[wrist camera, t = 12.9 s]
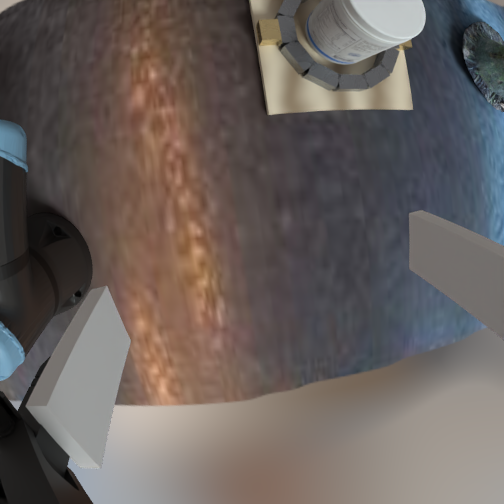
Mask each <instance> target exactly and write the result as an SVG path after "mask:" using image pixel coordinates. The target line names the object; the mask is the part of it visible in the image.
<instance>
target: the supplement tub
mask: <svg viewBox="0 0 504 504" xmlns="http://www.w3.org/2000/svg"><path fill="white" fill-rule="evenodd" d="M425 18H426V15H425V9H424V5H423V3H422V0H322V1H321V2H320V3H319V4H318V5H317V6H316V7H315V9H314V10H313V11H312V12H311V13H310V15H309V16H308V18H307V20H306V25H305V32H306V36H307V39H308V41H309V43H310V45H311V46H312V48H313V49H314V50H315V51H316V52H317V53H318V54H319V55H320V56H321V57H323V58H325V59H326V60H328V61H330V62H333V63H337V64H343V65H347V64H354V63H357V62H359V61H361V60H363V59H366V58H368V57H370V56H372V55H375V54H377V53H379V52H382V51H384V50H387V49H389V48H391V47H394V46H396V45H399V44H401V43H404V42H406V41H408V40H410V39H412V38H413V37H415V36H417V35H418V34H419V33H420V32H421V31H422V29H423V27H424V25H425Z"/></svg>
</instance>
